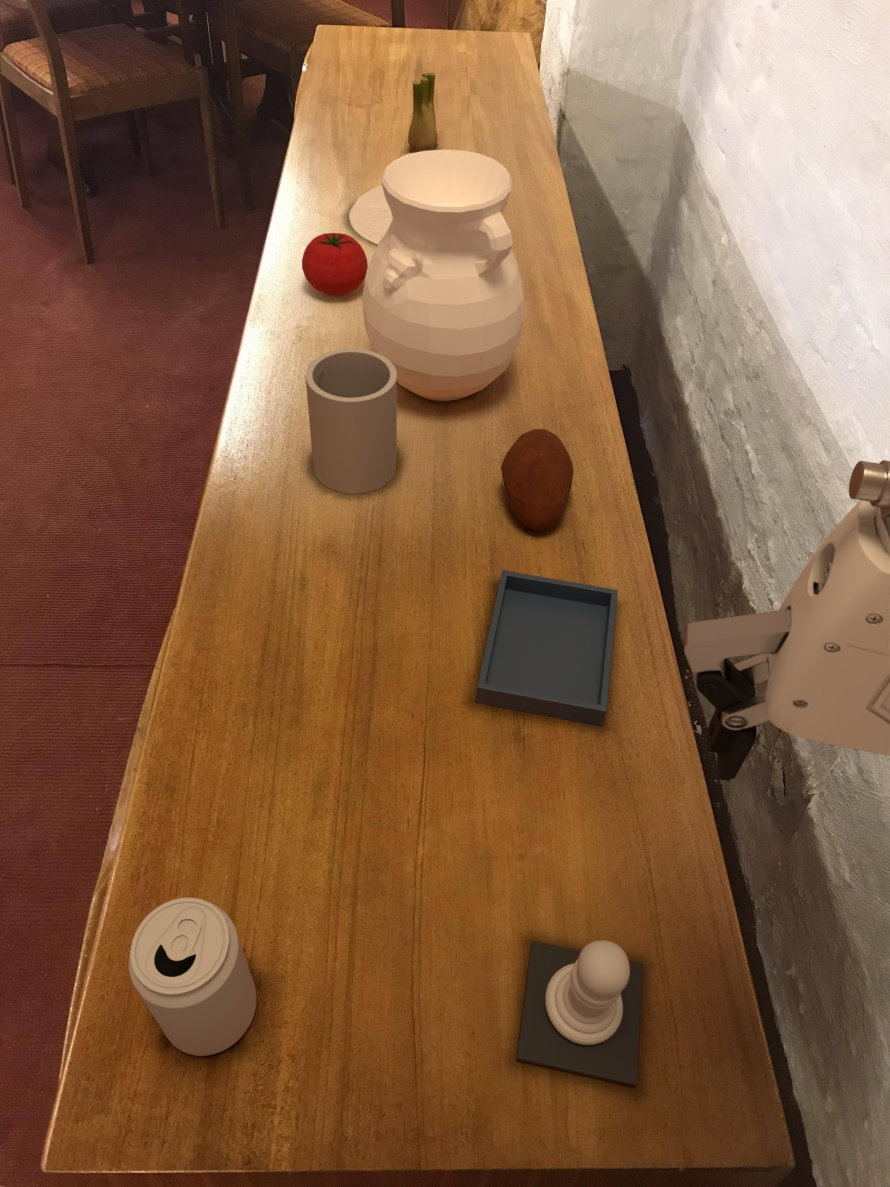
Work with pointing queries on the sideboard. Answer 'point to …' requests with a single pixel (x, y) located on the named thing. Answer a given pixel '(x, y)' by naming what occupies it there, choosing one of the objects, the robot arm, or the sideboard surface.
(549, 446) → the potato
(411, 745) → the sideboard surface
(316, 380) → the cup
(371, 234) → the plaque
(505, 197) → the white vase
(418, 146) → the fennel bulb
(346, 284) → the tomato
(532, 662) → the tray
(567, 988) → the chess piece
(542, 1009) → the mat
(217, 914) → the beverage can
